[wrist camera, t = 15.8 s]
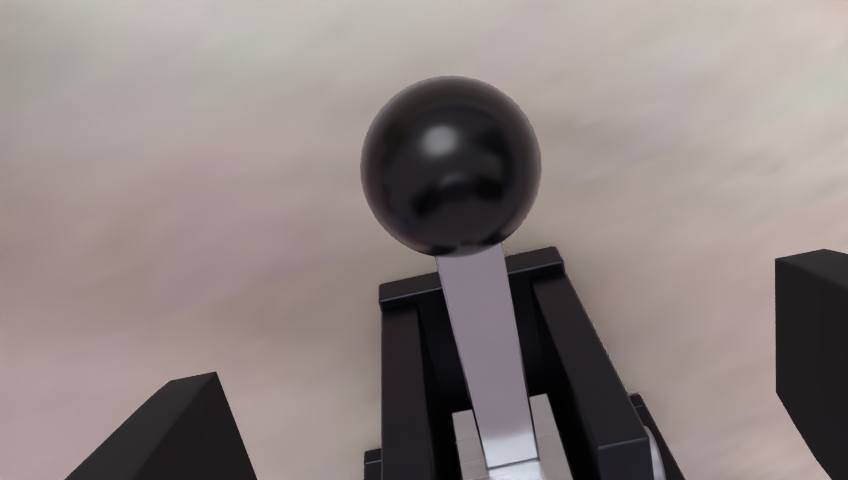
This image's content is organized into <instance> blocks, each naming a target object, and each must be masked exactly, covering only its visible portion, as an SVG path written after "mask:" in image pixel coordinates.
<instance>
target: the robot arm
mask: <svg viewBox="0 0 848 480" xmlns="http://www.w3.org/2000/svg"><path fill="white" fill-rule="evenodd" d="M775 312H776V393H777V395H778V396H779V398H780V400H781V402H782V403H783V405H784V407H785V408H786V410H787V412H788V414H789V415H790V417H791V419H792V421H793V422H794V424H795V426H796V428H797V429H798V431H799V432H800V434H801V436H802V437H803V439H804V441H805V442H806V444H807V445H808V447H809V449H810V450H811V452H812V453H813V455H814V457H815V458H816V460H817V461H818V462H819V464H820V465H821V466H822V468H823V469H824V470H825V471H826V473H827V474H828V475H829V477H830V478H831V479H832V480H848V254H845V253H841V252H836V251H832V250H827V249H821V250H816V251H812V252H807V253H802V254H797V255H792V256H787V257H782V258H777V259H775ZM65 480H257V478H256V475H255V472H254V470H253V467H252V465H251V462H250V459H249V457H248V454H247V451H246V449H245V446H244V444H243V441H242V438H241V436H240V433H239V430H238V428H237V425H236V423H235V420H234V417H233V415H232V412H231V409H230V407H229V404H228V401H227V399H226V396H225V394H224V391H223V388H222V386H221V383H220V380H219V378H218V375H217V373H216V372H211V373H206V374H201V375H196V376H191V377H186V378H181V379H176V380H171V381H169V382H168V383H167V384H166V385H164V386H163V387H162V388H161V389H159V390H158V391H157V392H156V393H155V394H154V395H152V396H151V397H150V398H149V399H148V400H147V401H146V402H145V403H144V404H143V405H142V406H141V407H139V408H138V409H137V410H136V411H135V412H134V413H133V414H132V415H131V416H130V417H129V418H128V419H127V420H126V421H125V422H124V423H123V424H122V425H121V426H120V427H119V428H118V429H117V430H115V431H114V432H113V433H112V434H111V435H110V436H109V437H108V438H107V439H106V440H105V441H104V442H103V443H102V444H101V445H100V446H99V447H98V448H97V449H96V450H95V451H94V452H93V453H92V454H91V455H90V456H89V457H88V458H87V459H85V460H84V461H83V462H82V463H81V464H80V465H79V466H78V467H77V468H76V469H75V470H74V471H73V472H72V473H71V474H70V475H69V476H68V477H67V478H66V479H65Z"/></svg>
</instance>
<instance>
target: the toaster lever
mask: <svg viewBox="0 0 848 480" xmlns="http://www.w3.org/2000/svg"><path fill="white" fill-rule="evenodd" d="M360 171H361V181H362V186H363V191H364V194H365V197H366V200H367V202H368V205H369V207H370V209H371V211H372V212H373V214H374V216H375V218H376V219H377V220H378V222H379V223H380V224H381V225H382V227H383V228H384V229H385V230H386V231H387V232H388V233H389V234H390V235H391V236H392V237H394V238H395V239H396V240H398V241H399V242H400V243H402V244H404V245H405V246H407V247H409V248H411V249H413V250H415V251H417V252H420V253H423V254H427V255H430V256H435V260H436V264H437V268H438V272H439V276H440V281H441V285H442V289H443V293H444V297H445V301H446V305H447V309H448V313H449V318H450V322H451V326H452V330H453V334H454V338H455V342H456V346H457V350H458V355H459V359H460V363H461V367H462V371H463V375H464V379H465V383H466V387H467V392H468V396H469V400H470V404H471V408H472V409H468V410H464V411H459V412H454V413H452V414H451V423H452V429H453V436H454V442H455V448H456V455H457V461H458V467H459V474H460V480H576V479H575V476H574V473H573V470H572V466H571V463H570V460H569V457H568V454H567V451H566V447H565V444H564V441H563V438H562V435H561V431H560V428H559V425H558V422H557V419H556V416H555V412H554V409H553V406H552V403H551V400H550V396H549V395H548V394H547V393H544V394H539V395H534V396H530V397H529V393H528V387H527V381H526V376H525V370H524V364H523V359H522V353H521V348H520V342H519V336H518V331H517V325H516V319H515V314H514V308H513V302H512V297H511V291H510V286H509V280H508V274H507V269H506V263H505V257H504V252H503V246H502V241H504V240H505V239H506V238H508V237H509V236H510V235H511V234H512V233H514V231H515V230H516V229H517V228H518V227H519V226H520V225H521V224H522V222H523V221H524V220H525V218H526V217H527V215H528V213H529V212H530V210H531V208H532V206H533V204H534V202H535V199H536V196H537V193H538V189H539V185H540V180H541V153H540V148H539V143H538V140H537V137H536V135H535V132H534V129H533V127H532V125H531V123H530V122H529V120H528V118H527V117H526V115H525V114H524V113H523V111H522V110H521V109H520V107H519V106H518V105H517V104H516V103H515V102H514V101H513V100H512V99H511V98H510V97H508V96H507V95H506V94H504V93H503V92H501V91H500V90H499V89H497V88H495V87H493V86H491V85H490V84H487V83H485V82H482V81H479V80H476V79H471V78H467V77H460V76H441V77H435V78H430V79H426V80H423V81H420V82H418V83H415V84H413V85H411V86H409V87H407V88H406V89H404V90H402V91H400V92H399V93H398V94H397V95H395V96H394V97H393V98H392V99H391V100H389V101H388V103H387V104H386V105H385V106H384V107H383V108H382V109H381V110H380V111H379V113H378V114H377V115H376V117H375V118H374V120H373V122H372V124H371V125H370V128H369V130H368V132H367V135H366V137H365V140H364V144H363V148H362V153H361V164H360Z"/></svg>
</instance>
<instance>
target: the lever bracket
mask: <svg viewBox="0 0 848 480" xmlns="http://www.w3.org/2000/svg"><path fill="white" fill-rule="evenodd" d="M505 263H506V269H507V274H508V280H509V286H510V291H511V297H512V302H513V308H514V314H515V319H516V325H517V331H518V336H519V342H520V348H521V353H522V359H523V364H524V370H525V376H526V381H527V387H528V393H529V397H530V396H534V395H539V394H544V393H547V394H548V395H549V396H550V400H551V403H552V406H553V409H554V412H555V416H556V419H557V422H558V425H559V428H560V431H561V435H562V438H563V441H564V444H565V447H566V451H567V454H568V457H569V460H570V463H571V466H572V470H573V473H574V476H575V479H576V480H666V478H665V472H664V467H663V463H662V459H661V456H660V452H659V449H658V447H657V444H656V441H655V439H654V437H653V435H652V433H651V431H650V430H649V429H648V427H646V426H644V425H643V424H642V422H641V420H640V418H639V416H638V414H637V412H636V410H635V408H634V406H633V404H632V402H631V400H630V398H629V396H628V394H627V392H626V390H625V388H624V386H623V384H622V382H621V380H620V378H619V376H618V374H617V372H616V370H615V368H614V367H613V365H612V363H611V361H610V359H609V357H608V355H607V353H606V351H605V349H604V347H603V345H602V343H601V341H600V339H599V337H598V335H597V333H596V331H595V329H594V327H593V325H592V323H591V321H590V319H589V317H588V315H587V313H586V311H585V309H584V308H583V306H582V304H581V302H580V300H579V298H578V296H577V294H576V292H575V290H574V288H573V286H572V284H571V282H570V280H569V278H568V276H567V274H566V273H565V267H564V261H563V260H562V258H561V256H560V254H559V252H558V250H557V248H556V247H554V246H553V247H548V248H544V249H539V250H535V251H530V252H526V253H521V254H517V255H512V256H507V257H505ZM379 305H380V308H381V312H382V314H381V437H382V480H456V474H455V466H454V459H453V451H452V443H451V440H452V439H454V436H453V429H452V423H451V414H452V413H454V412H459V411H464V410H468V409H472V408H471V404H470V400H469V396H468V392H467V387H466V383H465V379H464V375H463V371H462V367H461V363H460V359H459V355H458V350H457V346H456V342H455V338H454V334H453V330H452V326H451V322H450V318H449V313H448V309H447V305H446V301H445V297H444V293H443V289H442V285H441V281H440V276H439V272H435V273H430V274H425V275H421V276H416V277H412V278H407V279H403V280H398V281H394V282H389V283H384V284H381V285H379Z"/></svg>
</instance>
